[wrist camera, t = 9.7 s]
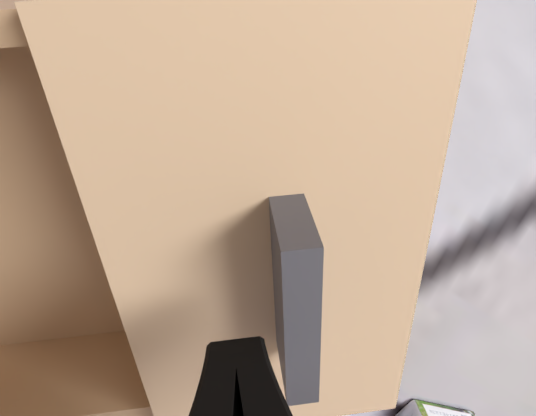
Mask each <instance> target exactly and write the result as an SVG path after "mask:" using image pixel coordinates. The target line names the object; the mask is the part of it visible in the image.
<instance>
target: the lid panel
mask: <svg viewBox="0 0 536 416" xmlns="http://www.w3.org/2000/svg"><path fill="white" fill-rule="evenodd" d="M476 2H477V0H20V1H16V2H14V3H15V6H16V9H17V12H18V15H19V18H20V21H21V24H22V27H23V30H24V33H25V36H26V39H27V42H28V45H29V48H30V51H31V54H32V57H33V60H34V62H35V65H36V68H37V71H38V74H39V77H40V80H41V83H42V86H43V89H44V92H45V95H46V98H47V101H48V104H49V107H50V110H51V113H52V116H53V119H54V122H55V125H56V128H57V131H58V134H59V137H60V140H61V143H62V146H63V148H64V151H65V154H66V157H67V160H68V163H69V166H70V169H71V172H72V175H73V178H74V181H75V184H76V187H77V190H78V193H79V196H80V199H81V202H82V205H83V208H84V211H85V214H86V217H87V220H88V223H89V226H90V229H91V232H92V234H93V237H94V240H95V243H96V246H97V249H98V252H99V255H100V258H101V261H102V264H103V267H104V270H105V273H106V276H107V279H108V282H109V285H110V288H111V291H112V294H113V297H114V300H115V303H116V306H117V309H118V312H119V315H120V318H121V320H122V323H123V326H124V329H125V332H126V335H127V338H128V341H129V344H130V347H131V350H132V353H133V356H134V359H135V362H136V365H137V368H138V371H139V374H140V377H141V380H142V383H143V386H144V389H145V392H146V395H147V398H148V401H149V404H150V406H151V409H152V412H153V415H154V416H189V413H190V410H191V407H192V404H193V401H194V398H195V394H196V391H197V387H198V384H199V380H200V376H201V372H202V368H203V364H204V359H205V353H206V347H207V345H208V344H209V343H210V342H215V341H223V340H231V339H240V338H248V337H256V336H260V337H262V338H264V340H265V345H266V349H267V353H268V356H269V359H270V362H271V365H272V368H273V371H274V374H275V376H276V379H277V381H278V384H279V386H280V389H281V391H282V393H283V395H284V398H285V400H286V402H287V404H288V406H289V408H290V410H291V413H292V415H293V416H342V415H349V414H357V413H364V412H371V411H379V410H386V409H393V408H396V403H397V398H398V393H399V388H400V383H401V378H402V373H403V368H404V363H405V358H406V353H407V348H408V343H409V338H410V333H411V328H412V323H413V318H414V313H415V308H416V303H417V298H418V293H419V288H420V283H421V278H422V273H423V268H424V263H425V258H426V253H427V248H428V243H429V238H430V233H431V228H432V223H433V218H434V213H435V208H436V203H437V198H438V193H439V188H440V182H441V177H442V172H443V167H444V162H445V157H446V152H447V147H448V142H449V137H450V132H451V127H452V122H453V117H454V112H455V107H456V102H457V97H458V92H459V87H460V82H461V77H462V72H463V67H464V62H465V57H466V52H467V47H468V42H469V37H470V32H471V27H472V22H473V17H474V12H475V7H476Z"/></svg>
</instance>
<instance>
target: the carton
mask: <svg viewBox="0 0 536 416" xmlns="http://www.w3.org/2000/svg"><path fill="white" fill-rule="evenodd" d="M16 1H20V0H0V416H154V415H153V412H152V409H151V406H150V404H149V401H148V398H147V395H146V392H145V389H144V386H143V383H142V380H141V377H140V374H139V371H138V368H137V365H136V362H135V359H134V356H133V353H132V350H131V347H130V344H129V341H128V338H127V335H126V332H125V329H124V326H123V323H122V320H121V318H120V315H119V312H118V309H117V306H116V303H115V300H114V297H113V294H112V291H111V288H110V285H109V282H108V279H107V276H106V273H105V270H104V267H103V264H102V261H101V258H100V255H99V252H98V249H97V246H96V243H95V240H94V237H93V234H92V232H91V229H90V226H89V223H88V220H87V217H86V214H85V211H84V208H83V205H82V202H81V199H80V196H79V193H78V190H77V187H76V184H75V181H74V178H73V175H72V172H71V169H70V166H69V163H68V160H67V157H66V154H65V151H64V148H63V146H62V143H61V140H60V137H59V134H58V131H57V128H56V125H55V122H54V119H53V116H52V113H51V110H50V107H49V104H48V101H47V98H46V95H45V92H44V89H43V86H42V83H41V80H40V77H39V74H38V71H37V68H36V65H35V62H34V60H33V57H32V54H31V51H30V48H29V45H28V42H27V39H26V36H25V33H24V30H23V27H22V24H21V21H20V18H19V15H18V12H17V9H16V6H15V3H14V2H16Z"/></svg>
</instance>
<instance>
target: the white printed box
mask: <svg viewBox="0 0 536 416" xmlns="http://www.w3.org/2000/svg"><path fill="white" fill-rule="evenodd" d="M396 416H476V415H475V414H474V412H472V411H468V410H463V409H458V408H453V407H449V406H444V405H440V404H434V403H430V402H425V401H421V400H412V401H411V402H410V403H408V404H407V405H406V406H405V407H404V408H403V409H402V410H401V411H400V412H399V413H398V414H397V415H396Z"/></svg>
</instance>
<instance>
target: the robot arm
mask: <svg viewBox="0 0 536 416" xmlns="http://www.w3.org/2000/svg"><path fill="white" fill-rule="evenodd" d="M189 416H293V415H292V413H291V410H290V408H289V406H288V404H287V402H286V400H285V398H284V395H283V393H282V391H281V389H280V386H279V384H278V381H277V379H276V376H275V374H274V371H273V368H272V365H271V362H270V359H269V356H268V353H267V349H266V345H265V340H264V338H262V337H260V336H256V337H248V338H240V339H231V340H223V341H215V342H210V343H209V344H208V345H207V347H206V353H205V359H204V364H203V368H202V372H201V376H200V380H199V384H198V387H197V391H196V394H195V398H194V401H193V404H192V407H191V410H190V413H189Z"/></svg>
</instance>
